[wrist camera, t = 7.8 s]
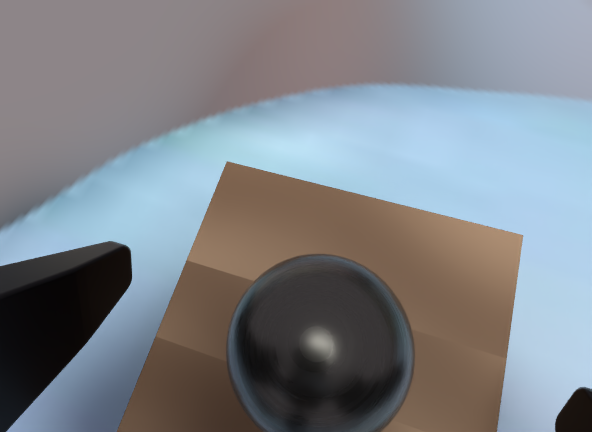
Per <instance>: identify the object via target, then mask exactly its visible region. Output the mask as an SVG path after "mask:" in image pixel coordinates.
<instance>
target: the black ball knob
mask: <svg viewBox="0 0 592 432" xmlns="http://www.w3.org/2000/svg"><path fill="white" fill-rule="evenodd" d="M226 362H227V370H228V375H229V379H230V383H231V385H232V388H233V391H234V394H235V396H236V398H237V400H238V402H239V404H240V405H241V407H242V409H243V410H244V412H245V413H246V415H247V416H248V417H249V418H250V419H251V421H252V422H253V423H254V424H255V425H256V426H257V427H258V428H259V429H260V430H261V431H263V432H381V431H382V430H383V429H385V428H386V427H387V426H388V425H389V424H390V422H391V421H392V420H393V419H394V417H395V416H396V415H397V414H398V412H399V410H400V408H401V407H402V405H403V403H404V402H405V399H406V397H407V394H408V392H409V390H410V386H411V382H412V379H413V373H414V366H415V346H414V338H413V333H412V329H411V325H410V322H409V319H408V317H407V314H406V312H405V310H404V308H403V306H402V304H401V302H400V300H399V299H398V297H397V296H396V295H395V293H394V292H393V290H392V289H391V288H390V287H389V286H388V285H387V284H386V282H385V281H384V280H382V279H381V278H380V277H379V276H378V275H377V274H376V273H374V272H373V271H371V270H370V269H368V268H367V267H365V266H364V265H362V264H360V263H358V262H356V261H353V260H350V259H348V258H345V257H341V256H337V255H332V254H306V255H300V256H296V257H293V258H289V259H286V260H284V261H282V262H280V263H278V264H276V265H274V266H273V267H271V268H269V269H268V270H266V271H265V272H264V273H262V274H261V275H260V276H259V277H258V278H257V279H256V280H255V281H254V282H253V283H252V284H251V285H250V286H249V287H248V289H247V290H246V291H245V293H244V294H243V295H242V297H241V299H240V300H239V302H238V304H237V306H236V308H235V310H234V313H233V315H232V318H231V321H230V325H229V328H228V334H227V340H226Z"/></svg>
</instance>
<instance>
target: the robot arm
mask: <svg viewBox="0 0 592 432" xmlns="http://www.w3.org/2000/svg"><path fill="white" fill-rule="evenodd" d="M131 281H132V264H131V251H130V249H129V247H128V246H126V245H123V244H120V243H117V242H113V241H109V242H104V243H100V244H95V245H91V246H87V247H82V248H78V249H73V250H69V251H65V252H60V253H56V254H52V255H47V256H43V257H39V258H34V259H30V260H25V261H21V262H17V263H12V264H8V265H4V266H0V432H6V431H7V430H8V429H9V428H10V427H11V426H12V425H13V423H14V422H15V421H16V420H17V419H18V418H19V417H20V416H21V415H22V414H23V413H24V411H25V410H26V409H27V408H28V407H29V406H30V405H31V404H32V403H33V402H34V400H35V399H36V398H37V397H38V396H39V395H40V394H41V393H42V392H43V391H44V390H45V388H46V387H47V386H48V385H49V384H50V383H51V382H52V381H53V380H54V379H55V377H56V376H57V375H58V374H59V373H60V372H61V371H62V370H63V369H64V368H65V367H66V365H67V364H68V363H69V362H70V361H71V360H72V359H73V358H74V357H75V356H76V354H77V353H78V352H79V351H80V350H81V349H82V348H83V346H84V345H85V344H86V343H87V342H88V340H89V339H90V338H91V337H92V335H93V334H94V333H95V332H96V330H97V329H98V328H99V326H100V325H101V324H102V322H103V321H104V320H105V318H106V317H107V316H108V314H109V313H110V312H111V310H112V309H113V308H114V306H115V305H116V304H117V302H118V301H119V300H120V298H121V297H122V296H123V294H124V293H125V292H126V290H127V289H128V287H129V286H130V284H131ZM555 432H592V389H590V388H586V387H580V388H578V389H577V390H576V391H575V392H574V393H573V395H572V396H571V397H570V399H569V400H568V402H567V403H566V404H565V406H564V407H563V409H562V410H561V411H560V413H559V414H558V416H557V419H556V423H555Z"/></svg>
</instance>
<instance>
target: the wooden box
mask: <svg viewBox="0 0 592 432" xmlns="http://www.w3.org/2000/svg"><path fill="white" fill-rule="evenodd" d="M522 239H523V235H520V234H516V233H512V232H508V231H504V230H500V229H496V228H492V227H488V226H484V225H480V224H476V223H472V222H468V221H464V220H460V219H456V218H452V217H448V216H444V215H440V214H436V213H432V212H428V211H424V210H420V209H416V208H412V207H408V206H404V205H400V204H396V203H392V202H388V201H384V200H380V199H376V198H372V197H368V196H364V195H360V194H356V193H352V192H348V191H344V190H340V189H336V188H332V187H328V186H324V185H320V184H316V183H311V182H307V181H303V180H299V179H295V178H291V177H287V176H283V175H279V174H275V173H271V172H267V171H263V170H259V169H255V168H251V167H247V166H243V165H239V164H235V163H231V162H227V163H226V165H225V167H224V170H223V172H222V175H221V177H220V180H219V182H218V185H217V187H216V190H215V192H214V194H213V197H212V199H211V202H210V204H209V207H208V209H207V212H206V214H205V217H204V219H203V221H202V224H201V226H200V229H199V231H198V234H197V236H196V239H195V241H194V243H193V246H192V248H191V251H190V253H189V256H188V258H187V261H186V263H185V266H184V268H183V270H182V273H181V275H180V278H179V280H178V283H177V285H176V288H175V290H174V293H173V295H172V297H171V300H170V302H169V305H168V307H167V310H166V312H165V315H164V317H163V320H162V322H161V324H160V327H159V329H158V332H157V334H156V337H155V339H154V342H153V344H152V347H151V349H150V351H149V354H148V356H147V359H146V361H145V364H144V366H143V369H142V371H141V374H140V376H139V378H138V381H137V383H136V386H135V388H134V391H133V393H132V396H131V398H130V401H129V403H128V405H127V408H126V410H125V413H124V415H123V418H122V420H121V423H120V425H119V427H118V430H117V432H263V431H261V430H260V429H259V428H258V427H257V426H256V425H255V424H254V423H253V422H252V421H251V419H250V418H249V417H248V416H247V415H246V413H245V412H244V410H243V409H242V407H241V405H240V404H239V402H238V400H237V398H236V396H235V394H234V391H233V388H232V385H231V383H230V379H229V375H228V370H227V362H226V340H227V334H228V328H229V325H230V321H231V318H232V315H233V313H234V310H235V308H236V306H237V304H238V302H239V300H240V299H241V297H242V295H243V294H244V293H245V291H246V290H247V289H248V287H249V286H250V285H251V284H252V283H253V282H254V281H255V280H256V279H257V278H258V277H259V276H260V275H261V274H262V273H264V272H265V271H266V270H268V269H269V268H271V267H273V266H274V265H276V264H278V263H280V262H282V261H284V260H286V259H289V258H293V257H296V256H300V255H306V254H332V255H337V256H341V257H345V258H348V259H350V260H353V261H356V262H358V263H360V264H362V265H364V266H365V267H367V268H368V269H370V270H371V271H373V272H374V273H376V274H377V275H378V276H379V277H380V278H381V279H382V280H384V281H385V282H386V284H387V285H388V286H389V287H390V288H391V289H392V290H393V292H394V293H395V295H396V296H397V297H398V299H399V300H400V302H401V304H402V306H403V308H404V310H405V312H406V314H407V317H408V319H409V322H410V325H411V329H412V333H413V338H414V346H415V366H414V373H413V379H412V382H411V386H410V390H409V392H408V394H407V397H406V399H405V402H404V403H403V405H402V407H401V408H400V410H399V412H398V414H397V415H396V416H395V417H394V419H393V420H392V421H391V422H390V424H389V425H388V426H387V427H386V428H385V429H383V430H382V431H381V432H497V425H498V418H499V410H500V403H501V395H502V388H503V381H504V373H505V366H506V358H507V351H508V343H509V336H510V329H511V321H512V314H513V306H514V299H515V291H516V284H517V277H518V269H519V262H520V254H521V247H522Z"/></svg>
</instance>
